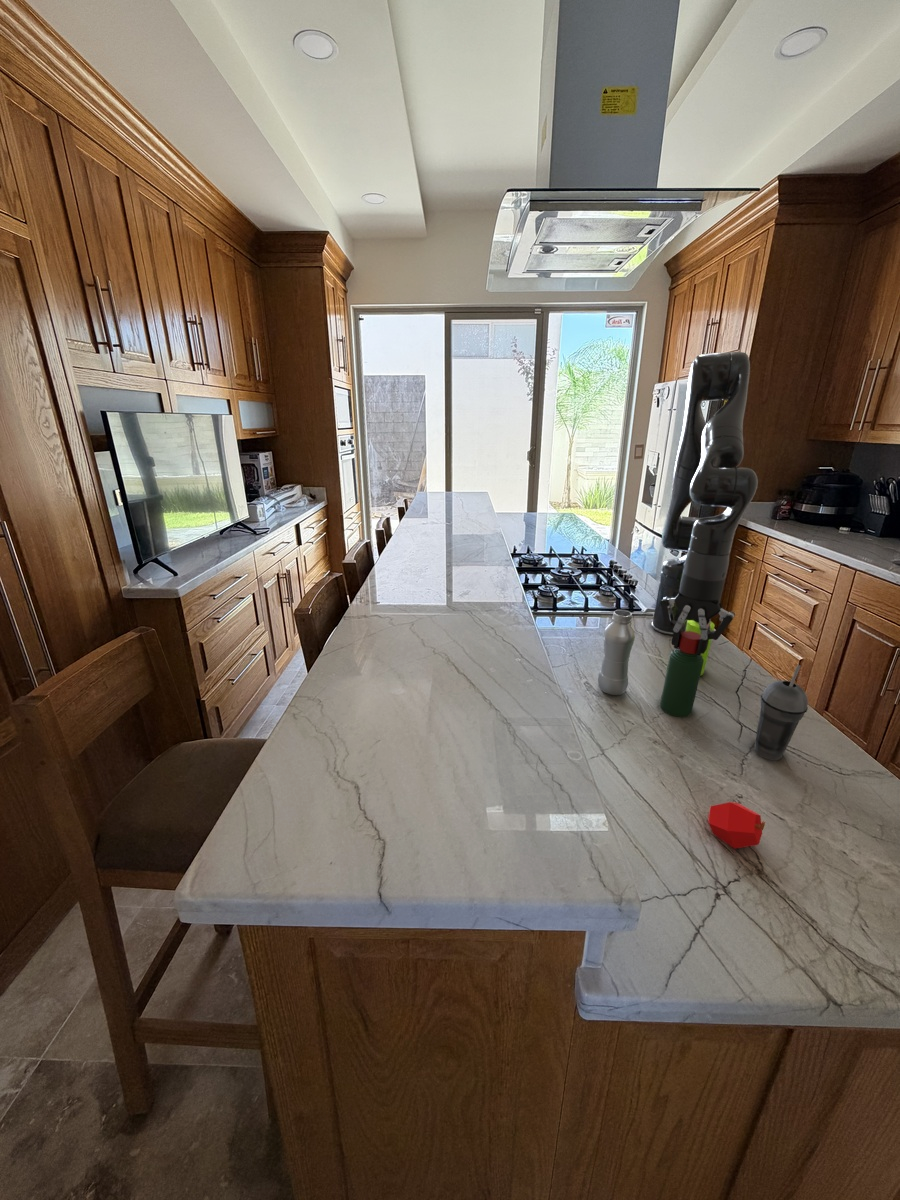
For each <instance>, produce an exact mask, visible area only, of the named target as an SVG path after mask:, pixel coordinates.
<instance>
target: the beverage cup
mask: <svg viewBox="0 0 900 1200" xmlns="http://www.w3.org/2000/svg"><path fill="white" fill-rule="evenodd" d="M800 669H801V665H800V664H797V665H796V667H795V670H794V673H793V675H792V677H791V680H784V679H783V680H781V679H780V680H776V681H774V682H772V683H771V682H770V684H768V685H767V686H766V687H765V689H764V690H763V692H762V693H761V695H760V711H759V717H758V723H757V729H756V734H755V740H754V742H755V743H754V751H755V753H756V754H758V755H759V756H760V757H762V758H764V759H767V760H770V761H779V760H781V759H782V758H783V757H782V756H783V755H784V753H786V750H787V748H788V746H789V744H790V742H791V739H792V737H793V735H794V733H795V731H796V729H797V728H798V727H797V726H798V725H799V723H800V721H801V720H802V719H803V717H804V715H805V713H807V712H808V710H809V709H808V706H809V700H808V696H807V693H806V692H805V690H804V689H803V688H802V687H801V686H800V685H799V684H797V683H795V682H796V678H797V676H798V673H799V671H800Z"/></svg>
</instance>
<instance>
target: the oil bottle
mask: <svg viewBox="0 0 900 1200" xmlns="http://www.w3.org/2000/svg"><path fill="white" fill-rule="evenodd" d="M703 662H704V659H703V657H702V655H696V654H689V653H685V652H682V651H681V650H679V648H678V649H676V648H674V649H672V651H671V652H670V653H669V658H668V662H667V667H666V673H665V678H664V683H663V688H662V692H661V698H660V703H659V706H660V709H661V710H662V711H664V712H665V713H666V714H668V715H670V716H672V717H677V718H687V717H689V716H690V715H692V711H693V708H694V703H695V700H696V696H697V691H698V686H699V682H700V678H701V676H700V674H701V670H702V666H703Z"/></svg>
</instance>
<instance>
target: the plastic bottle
mask: <svg viewBox="0 0 900 1200" xmlns="http://www.w3.org/2000/svg"><path fill="white" fill-rule="evenodd" d="M632 616H633V614H632V612H631V611H629V610H626V609H616V610H614V611H613V614H612V618H611V621H612V622H611V623H609V624H608V625H607V626H606V627H605V629H604V631H603V659H602V664H601V668H600V671H599V674H598V677H597V685H598V687H599V689H600V690H601V691H602V692H603V693H605V694H607V695H610V696H611V695H612V696H619V695H622V694H624V693H625V692H626V691H627V690H628V686H629V674H628V673H629V661H630V657H631V651H632V648H633V646H634V642H635V639H636V635H635V631H634V629H633V627H632V625H631V623H632Z"/></svg>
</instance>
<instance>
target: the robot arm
mask: <svg viewBox="0 0 900 1200" xmlns="http://www.w3.org/2000/svg"><path fill="white" fill-rule="evenodd" d="M750 375H751V361H750V356H749V355H748V354H747V353H746V352H743V351H730V352H714V353H713V352H712V353H711V352H710V353H702V354H698V355H697V356H696V357H694V360H692V363H691V365H690V370H689V373H688V382H687V389H686V399H685V407H684V416H683V424H682V431H681V435H680V440H679V445H678V450H677V455H676V459H675V460H676V461H675V465H674V470H673V479H672V486H671V493H670V499H669V503H668V508H667V511H666V516H665V519H664V524H663V529H662V534H661V544H662V546H663V548H665V549H667V550H671V551H680V552H687V553H685V554H684V555H682V556H679V557H675V558H671V559H667V560H665V561H664V562H663V563H662V566H661V572H660V578H659V585H658V590H657V595H656V600H655V601H656V602H655V606H654V612H653V617H652V622H651V627H652V629H653V630H654V631H656V632H659V633H660V634H664V635H670V636H672V637H671V645H672V646H673V649H678V647H679V642H680V637H681V633H682V632H684V631H686V626H687V621H688V620H693V621H695V622H698V623H699V628H700V631H701V638H700V639H699V644H698V648H697V653H696V655H701V654H704V652H705V651H706V650H707V646H708V642H709V639H712V640H713V641H717V640H718V639H719V638H720V637H721V636H722V635H723V633H724V631H725V630H726V629H727V628H728V626H729V625H730V623H731V622H732V621H733V620H734V618H735V617H736V614H735V612H734V611H727V610H726V609H724V608H723V606H722V603H721V602H722V601H721V600H722V595H723V591H724V588H725V587H724V586H725V583H726V579H727V575H728V569H729V565H730V555H731V550H732V546H733V542H734V537H735V535H736V530H737V528H738V526H739V524H740V521H741V519H742V518H743V516H744V514H745V512H746V510H747V509H748V507H749V506H750V504H751V503H752V501H753V499H754V497H755V495H756V493H757V490H758V486H759V479H758V476H757V473H756V472H755V471H754V469H752V468H749V467H744V466H743V467H742V466H740V465H741V463H742V461H743V459H744V455H745V454H744V453H745V450H744V419H745V413H746V412H745V411H746V407H747V399H748V391H749V384H750ZM711 401H726V402H725V403H724V404H723V405H722V406H721V408H719V409H718V410H717V411H716V412H715V413H714V414H713V415H712V416H711V417H710V419H709V420H708V421H707V422H706V419H705V417H704V414H703V410H702V403H703V402H711ZM692 502H694V503H695V504H696V505H699V506H704V507H719V508H720V507H721V508H726V509H725V510H723V512H722V513H720V514H718V515H714V516H706V517H695V516H694V517H693V516H683V515H682V514H683V513H684V511H685V510H686V508H687V507H688V506H689V505H690V504H691V503H692ZM681 515H682V516H681ZM716 615H719V617H718V620H719V621H720V622H721V623H720V624H719V625H718V627H716V629H714V631H711V629H710V625H711V622H712V620H711V619H712V618H714V617H715V616H716Z"/></svg>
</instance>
